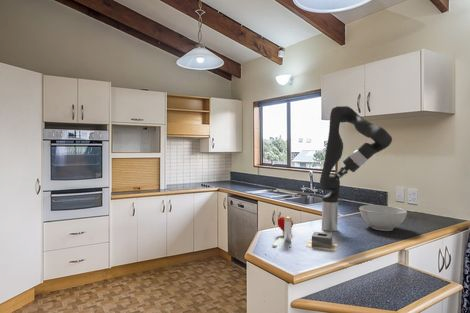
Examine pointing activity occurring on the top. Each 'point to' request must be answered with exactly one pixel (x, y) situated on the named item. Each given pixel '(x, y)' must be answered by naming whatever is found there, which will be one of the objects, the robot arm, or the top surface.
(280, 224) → the red rounded lobed piece
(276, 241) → the sage mat
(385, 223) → the decorative bowl
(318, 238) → the stand
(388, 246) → the top surface
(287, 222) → the key peg
